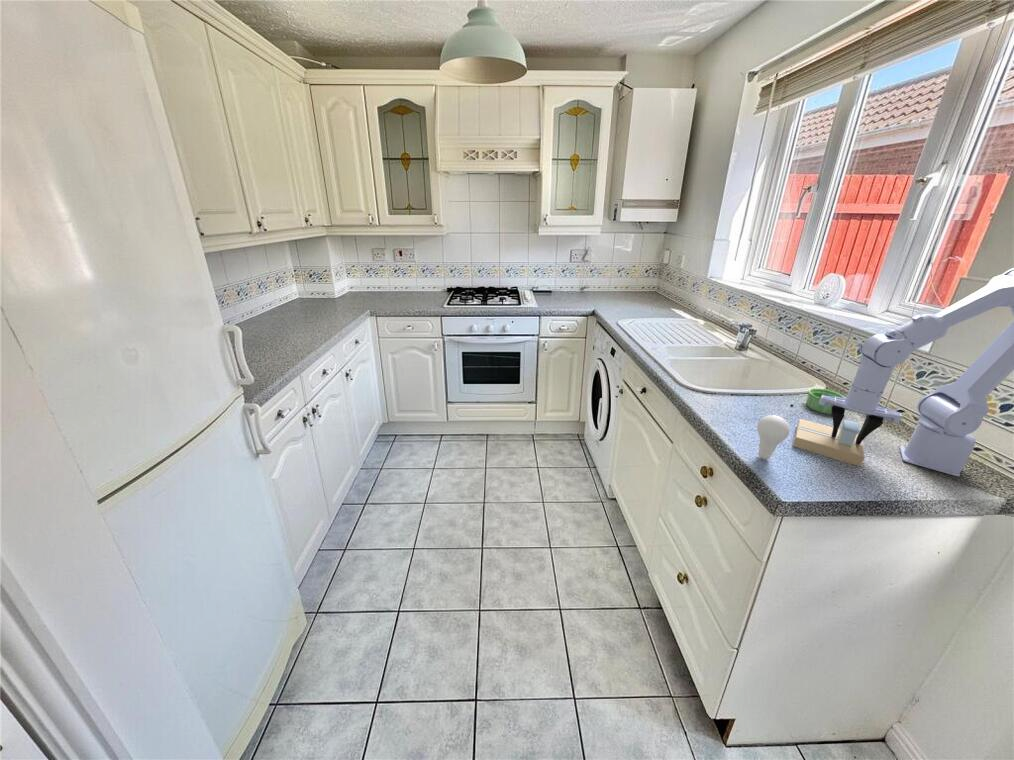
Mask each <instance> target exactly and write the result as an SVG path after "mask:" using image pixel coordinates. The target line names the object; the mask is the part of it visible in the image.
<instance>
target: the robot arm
mask: <svg viewBox="0 0 1014 760" xmlns="http://www.w3.org/2000/svg"><path fill="white" fill-rule="evenodd" d="M998 307H1009V308H1010V310H1011V313H1012V315H1013V317H1014V267H1013V268H1010V269H1008V270H1006V271H1005V272H1004V273H1002V274H999V275H997V276H994V277H992V278H991V280H989V282H988V283H987V284H986V285H985V286H984V287H982V288H980V289H978V290H977V291H974V292H973V293H970V294H969V295H968V296H966V297H964V298H962V299H960V300H958V301H957V302H955V303H953V304H952V305H949V306H947V307H946V308H945V309H943V310H941V311H939V312H937V313H936V314H931V313H923V314H921V315H920V314H917V315H915V316H912V317H911V319H910V320H909V321H907V322H905V323H903V324H901V325H900V326H897V327H896V328H894V329H889V330H887V331H886V332H885V334H884V333H881V334H875V335H872V336H870V337H868V338H866V339H865V340H864V342H863V343H860V345H859V353H860V354H861V358H860V360H859V361H860V363H859V365H858V367H857V369H856V372H855V374H854V377H853V379H852V382H851V383H850V384H851V385H850V387H849V390H848V392H847V394H846V396H845V398H839V397H832V396H826V395H822V396H821V399H820V401H819V404H820V405H828V406H832V410H831V412H832V414H831V416H832V417H831V418H832V423H833V425H832V427H833V431H832V437H834V438H835V437H836V435H837V432H838V429H840V426H841V423H842V422H843V420H844V417H845V413H846V412H845V411H848V412H853V413H857V414H861V415H866V416H865V419H864V422H863V424H862V426H861V428H860V429H859V433H858V436H857V439H856V444H860V443H861V442H862V441H863V442H864V440H865V438H867V437H868V435H870V434H871V433H872V432H874V431H875V430H877V429H878V428H880V427H881V426H882V425H883V423H884V420H886V421H889V422H892V423H894V424H900V421H901V419H902V417H903V416H902V413H901V412H898V411H894V410H892V409H888V408H885V407H882V406H878V405H879V403H880V401H881V399H882V397H883V395H884V393H885V390H886V387H887V385H888V383H889V381H890V379H891V376H892V374H893V372H894V369H895V368H896V366H898V365H902V364H903V363H904V362H905V361H907V359H908V357H909V356H910V355H911V354H913V353H914V352H915V351H917V350H919V349H921V348H923V347H925V346H927V345H929V344H931V343H933V342H935V341H937V340H939V339H941V338H943V337H945V336H946V334H947V332H948V329H949V328H950V327H953V326H955V325H958V324H959V323H962V322H964V321H967V320H969V319H972V318H974V317H976V316H977V317H978V316H979V315H981V314H984V313H986V312H988V311H991V310H993V309H995V308H998ZM1012 372H1014V320H1012V322H1011V323H1010V324H1009V325H1008V326H1007V327H1006V328H1005V329H1004V330H1003V331H1002V332H1001V333H1000V334H999V335H998V337H996V338H995V340H993V341H992V342H991V344H990V345H988V347H986V349H985V350H984V351H983V352H982V353H981V354H980V355H979V356H978V357H977V358H976V359H975V360H974V362H973V363H972V364H971V365H970V366H969V367H968V368H966V369H965V371H964V372H963V373H962V374H961V375H960V376H959V377H958V378H957V379H956V380H955V381H954V382H953V383H950V384H949V383H948V384H945V385H939V386H938V387H936V389H935V390H934V391H932V392H931V393H928V394H927V395H924V396H923V397H922V398H921V399H920V400H919V401H918V403H917V405H916V409H917V412H918V413H919V417H918V420H919V421H918V423H917V425H916V426H915V429H914V430H913V433H912V435H911V437H910V438H909V441H908V442H907V445H906V446H904V445H900V446H899V451H900V455H901V459H902V461H903V462H905V463H908V464H912V465H916V466H919V467H923V468H926V469H929V470H934V471H938V472H940V473H944V474H948V475H952V476H955V477H959V478H960V476H961V474H960V473H961V471H962V470H963V468H964V466H965V465H966V463H967V461H968V460H969V458H970V456H971V455H972V453H973V450H974V449H975V445H976V437H975V436H974V435H973V434H972V433H974V432H975V431H977V430H978V429H979V428H980V426H981V425H982V424H983V423H982V422H983V419H984V418H985V416H986V415H988V413H989V412H990V408H989V405H988V402H987V401H988V400H987V397H988V396H989V395H990V394H991V393H992V392H993V391H994V390H995V389H996V388H998V386H999V385H1000V384H1001V383H1003V381H1005V379H1007V378H1008V377H1009V375H1010V374H1011V373H1012Z"/></svg>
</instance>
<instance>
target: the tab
mask: <svg viewBox="0 0 1014 760" xmlns="http://www.w3.org/2000/svg"><path fill="white" fill-rule="evenodd" d="M859 427H860V424H859V422H856V421H852V420H848V419H844V418H843V419H842V425H841V428H840V429H841V430H840V432H839V439H838V443H842V444H845V445H849V446H852V444H853V442H854V440H855V437H856V435H857V434H859V432H860V428H859Z"/></svg>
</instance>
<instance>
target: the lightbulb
mask: <svg viewBox="0 0 1014 760" xmlns="http://www.w3.org/2000/svg"><path fill="white" fill-rule="evenodd" d="M756 429H757V434H758V436H759V444H758V447H759V448H758V452H757V454H758V457H760V459H762V460H770V459H771V457H772V455H773V453H774V452H775V451H776V448H777V447H778V446H779V444H780V443H782V442H784V441H785V440H786V439H787V438H788V437H789V435H790V432H791V427H790V425H789V423H788V421H787V420H786V419H785V418H783V417H781V416H779V415H774V414H773V415H772V414H770V415H766V416H764V417H762V418H761V419H760V420H759V421H758V423H757V427H756Z"/></svg>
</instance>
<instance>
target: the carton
mask: <svg viewBox="0 0 1014 760" xmlns="http://www.w3.org/2000/svg"><path fill="white" fill-rule="evenodd" d="M840 430H841V428H839V429H838V432H837V435H836V437H835V438H834V437H832V431H833V426H830V425H829V426H828V425H824V424H822V423H818V422H815V421H811V420H807V419H803V418H799V421H798V423H797V426H796V430H795V435H794V438H793V443H792V446H793V447H795V448H797V449H801V450H805V451H807V452H808V451H809V452H810V453H815V454H818V455H820V456H824V457H828V458H831V459H835V460H837V461H840V462H844V463H848V464H851V465H853V466H858V467H861V465H862V463H863V461H864V459H865V446H864V440H863V441H862V442H861V443H860V444H856V439H857V436H858V434H859V433H858V434H857V435H856V437H855V440H854V442H853V444H852V446H849V445H845V444H842V443H838V439H839V432H840Z"/></svg>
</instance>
